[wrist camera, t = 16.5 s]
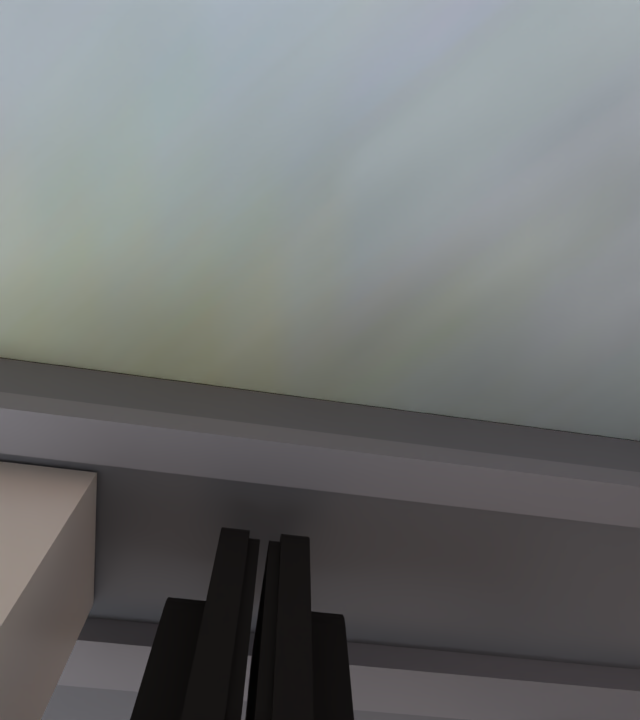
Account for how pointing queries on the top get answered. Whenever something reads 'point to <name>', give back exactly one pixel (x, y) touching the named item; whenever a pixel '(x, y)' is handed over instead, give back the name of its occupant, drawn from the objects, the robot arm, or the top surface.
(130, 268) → the top surface
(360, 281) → the top surface
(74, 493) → the tab
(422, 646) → the switch board
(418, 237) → the top surface
